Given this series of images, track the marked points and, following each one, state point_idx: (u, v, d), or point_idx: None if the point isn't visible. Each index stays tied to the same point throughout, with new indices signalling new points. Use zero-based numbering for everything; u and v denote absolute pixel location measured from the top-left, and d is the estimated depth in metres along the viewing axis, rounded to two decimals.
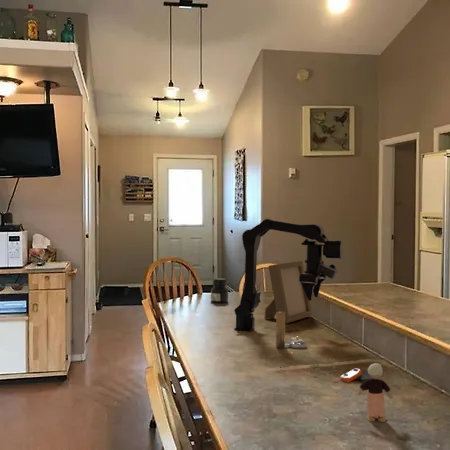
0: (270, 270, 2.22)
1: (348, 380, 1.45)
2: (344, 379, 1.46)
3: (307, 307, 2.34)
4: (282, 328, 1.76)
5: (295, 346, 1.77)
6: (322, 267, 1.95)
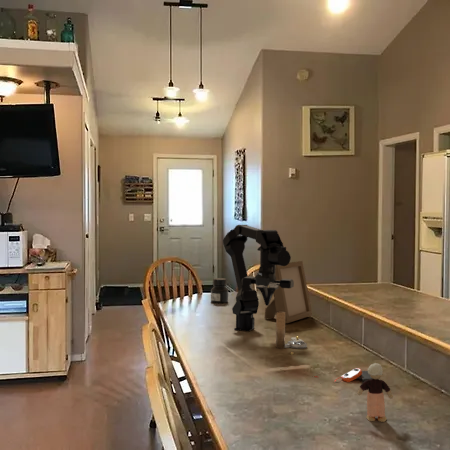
0: None
1: (349, 380, 1.45)
2: (345, 379, 1.46)
3: (307, 307, 2.34)
4: (282, 328, 1.76)
5: (295, 346, 1.77)
6: None
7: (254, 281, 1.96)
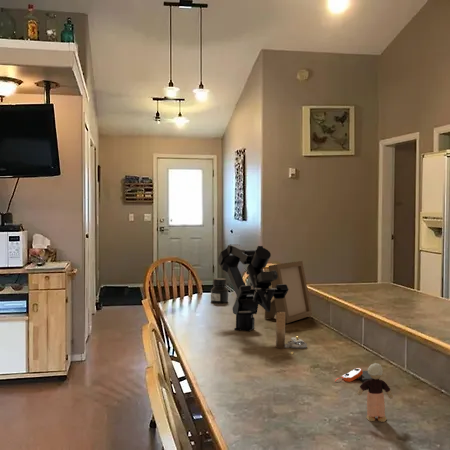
0: (270, 270, 2.22)
1: (349, 380, 1.45)
2: (345, 379, 1.46)
3: (307, 307, 2.34)
4: (282, 328, 1.76)
5: (295, 346, 1.77)
6: (257, 277, 1.91)
7: (250, 291, 1.91)
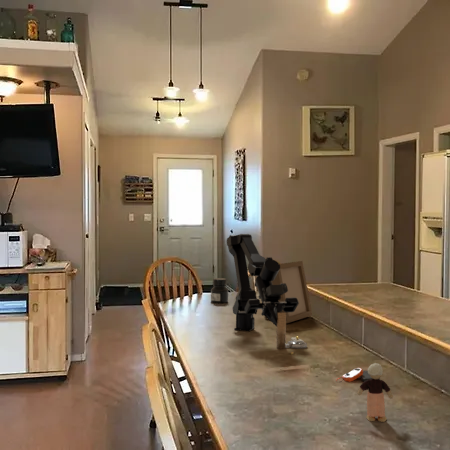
0: None
1: (350, 380, 1.46)
2: (346, 379, 1.46)
3: (307, 307, 2.34)
4: (283, 328, 1.76)
5: (296, 346, 1.77)
6: (266, 290, 1.83)
7: (258, 304, 1.82)
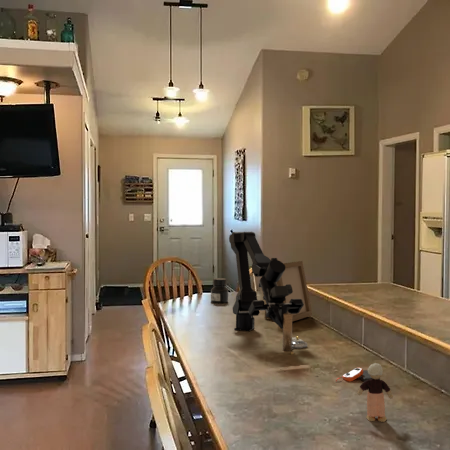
0: None
1: (350, 379, 1.46)
2: (346, 378, 1.46)
3: (307, 307, 2.34)
4: (291, 330, 1.74)
5: (300, 346, 1.77)
6: (270, 291, 1.81)
7: (263, 306, 1.80)
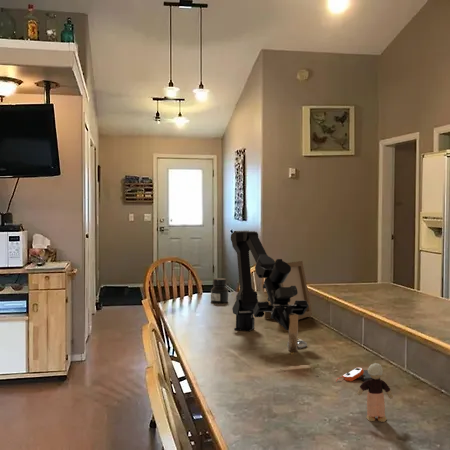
0: None
1: (350, 379, 1.46)
2: (346, 378, 1.46)
3: None
4: (297, 330, 1.74)
5: (302, 346, 1.78)
6: (275, 293, 1.79)
7: (267, 307, 1.78)
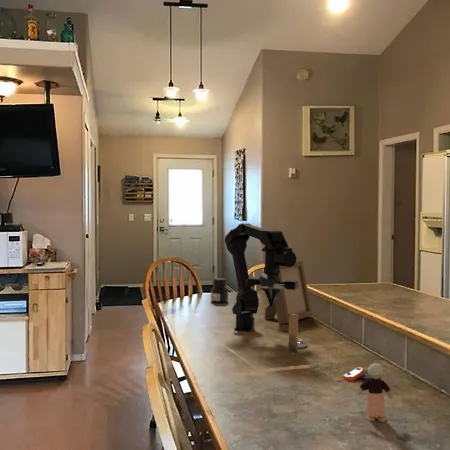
0: None
1: (351, 379, 1.46)
2: (347, 378, 1.46)
3: (307, 307, 2.34)
4: (297, 330, 1.74)
5: (302, 346, 1.78)
6: (263, 274, 1.91)
7: (258, 282, 1.95)
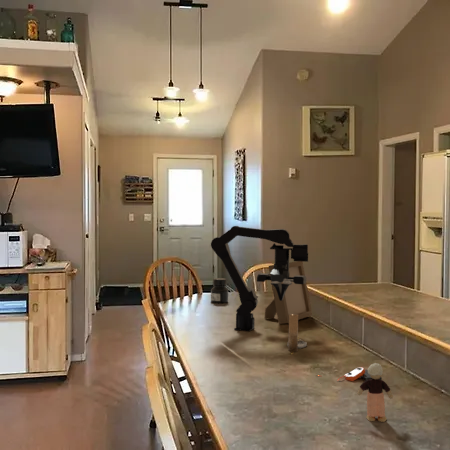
0: (270, 270, 2.22)
1: (352, 379, 1.46)
2: (348, 378, 1.47)
3: (307, 307, 2.34)
4: (297, 330, 1.74)
5: (302, 346, 1.78)
6: (273, 270, 2.03)
7: (269, 277, 2.08)
